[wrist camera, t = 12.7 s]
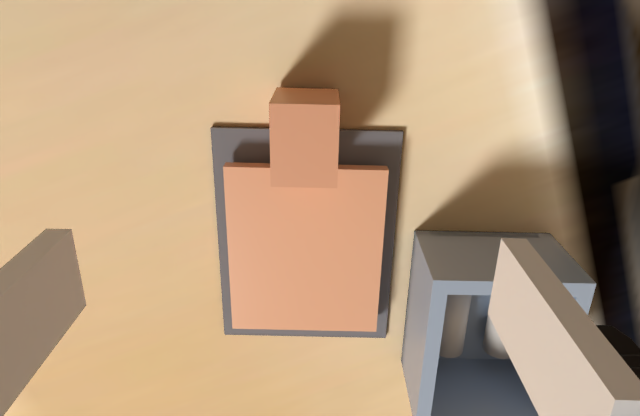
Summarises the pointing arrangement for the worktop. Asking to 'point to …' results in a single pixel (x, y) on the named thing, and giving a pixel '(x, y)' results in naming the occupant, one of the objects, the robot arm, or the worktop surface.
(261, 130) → the mat
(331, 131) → the lid
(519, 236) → the tub
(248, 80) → the worktop surface
